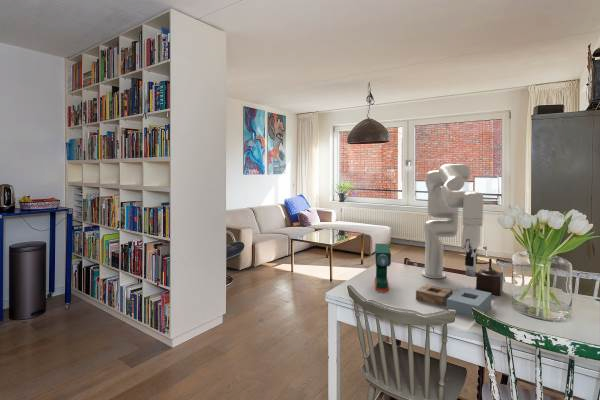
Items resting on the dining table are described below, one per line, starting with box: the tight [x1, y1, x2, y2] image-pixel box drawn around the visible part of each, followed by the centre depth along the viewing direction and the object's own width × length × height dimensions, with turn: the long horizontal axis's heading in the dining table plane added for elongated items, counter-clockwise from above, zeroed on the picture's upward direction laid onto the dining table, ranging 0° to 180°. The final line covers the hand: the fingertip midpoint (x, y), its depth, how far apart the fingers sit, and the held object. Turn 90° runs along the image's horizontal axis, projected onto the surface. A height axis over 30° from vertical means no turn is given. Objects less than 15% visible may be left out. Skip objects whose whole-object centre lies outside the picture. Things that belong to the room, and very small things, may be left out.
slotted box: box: [446, 286, 492, 318], centre depth 147 cm, size 20×12×6 cm, turn 138°
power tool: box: [374, 242, 392, 292], centre depth 173 cm, size 32×7×20 cm, turn 168°
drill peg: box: [465, 252, 477, 278], centre depth 146 cm, size 4×4×10 cm
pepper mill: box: [475, 253, 504, 297], centre depth 170 cm, size 16×11×18 cm
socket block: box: [415, 283, 454, 307], centre depth 157 cm, size 12×12×5 cm
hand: (470, 264), depth 146 cm, fingers closed on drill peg, 3 cm apart
